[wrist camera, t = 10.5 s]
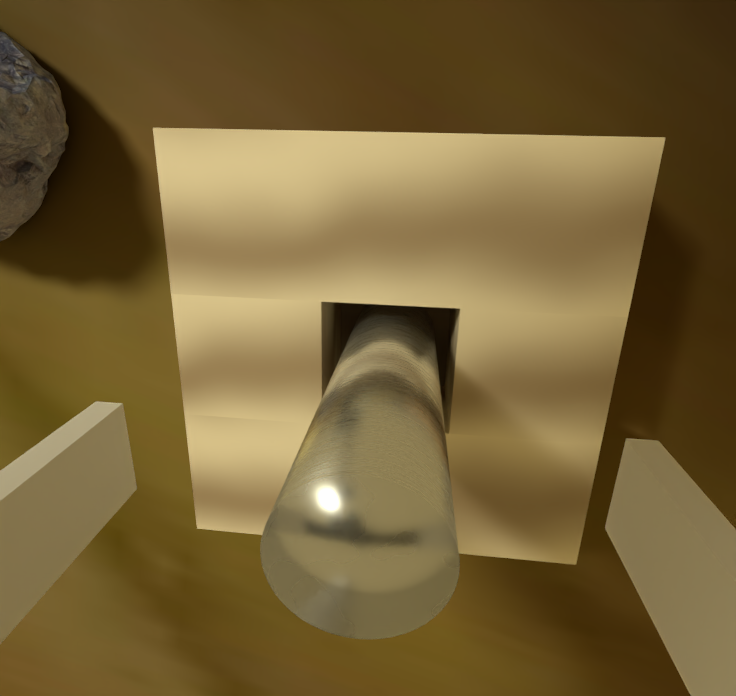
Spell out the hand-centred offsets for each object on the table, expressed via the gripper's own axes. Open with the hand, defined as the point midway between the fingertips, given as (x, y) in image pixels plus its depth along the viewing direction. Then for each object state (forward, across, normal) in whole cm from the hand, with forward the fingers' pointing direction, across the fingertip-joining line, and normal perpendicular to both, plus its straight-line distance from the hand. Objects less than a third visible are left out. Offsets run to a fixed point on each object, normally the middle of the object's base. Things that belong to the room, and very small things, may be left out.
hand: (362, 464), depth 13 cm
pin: (+13, 0, 0) cm, 13 cm away
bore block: (+14, 0, -1) cm, 14 cm away
